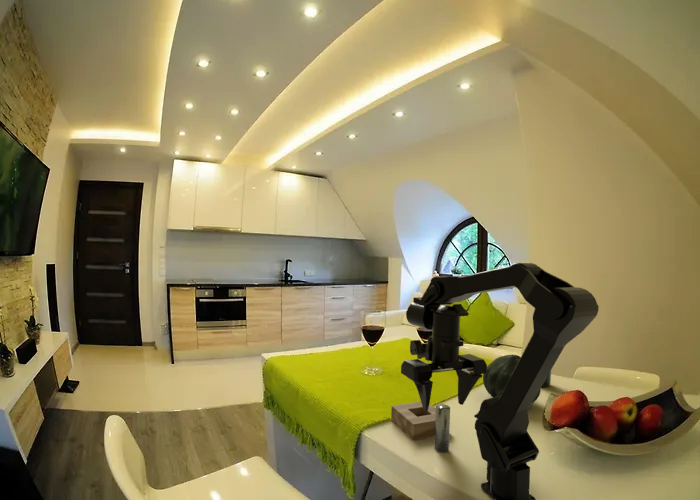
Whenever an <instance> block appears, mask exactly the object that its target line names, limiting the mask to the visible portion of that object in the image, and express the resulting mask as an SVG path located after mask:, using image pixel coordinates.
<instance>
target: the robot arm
mask: <svg viewBox="0 0 700 500" xmlns="http://www.w3.org/2000/svg"><path fill="white" fill-rule="evenodd" d="M514 288H517V290H518V291H519V292H520V294H521V295H522V297H523V299H524V300H525V302H527V304H529V305H530V306H532V308H534V310H533V314H532V325H533V333H532V335H531V337H530V339H529V341H528V343H527V344H526V346H525V349H524V350H523V353H522V354H521V356H520V357H521V358H520V360H519V362H518V364H517V365H516V367H515V369H514V371H513V373H512V375H511V377H510V379H509V381H508V383H507V385H506V386H505V388H504V390H503V392H502V394H501V396H497V397H489V398H486V399H483V400H482V402H481V404H480V407H479V410H478V412H477V413H476V414H474V418H476V420H475V423H474V430H475V433H476V437H477V442H478V446H479V450H480V456H481V458H482V460H483V461H485V462H487V463H486V466H487V467H486V481H485V482H482V483H480V488H481V489H483V491H485V492H486V493H487V494H488V495H489V496H490V497H491V498H493V499H494V500H536V497H535V496H533V495H532V494H531V493H530V480H531V467H530V466H529V465H528V464H527V463H529V462H531V461H532V462H533V461H535V460H537V457H538V455H539V453H540V450H539V448H538V447H537V445H536V444H535V442H534V440H533V438H532V436H531V435H530V433H529V432H528V428H529V425H530V419H529V410H530V408H531V406H532V404H534V403H533V401H534V399H535V397H536V396H537V394H538V392H539V390H540V389H541V388H543V387H542V385H543V383H544V382H545V380H546V378H547V376H548V375H549V373H550V371H551V372H552V369H553V368H554V365H555V364H556V362H557V361H558V359H559V357H560V355H561V354H562V352H563V350H564V348H565V347H566V346H567V344H569V343H570V342H571V341H573V339H575V338H576V337H577V336H578V335H581V333H583V331H585V329H587V328H588V326H589V325H590V324H591V323H592V322H593V321H594V320H595V318H596V317H597V316H598V313H599V306H600V305H599V304H598V302H597V300H596V297H595V296H594V294H592V293H591V292H590V291H589V290H587V289H585V288H583V287H576V286H574V285H572V284H571V283H570V282H568V281H566V280H564V279H562V278H560V277H558V276H556V275H554V274H552V273H549V272H548V271H546V270H544V269H543V268H541V267H540V266H538V264H536V263H533V262H515V263H512V264H511V265H508V266H503V267H498V268H494V269H489V270H486V271H481V272H477V273H472V274H467V275H464V276H463V275H460V276H459V275H450V276H449V275H447V276H446V275H445V276H443V275H439V276H438V275H437V276H436V275H435V276H433V277H432V278H431V279H430V282H429V284H428V286H427V288H426V290H425V291H424V293H423V295H422V297H421V296H417V297H413V299H412V300H413V301H412V302H411V303H410V304H409V306H408V308H407V311H406V312H405V315H406V320H407V322H408V323H409V324H410V325H411V326H415V327H419V328H421V329H426V330H429V331H430V330H431V331H432V332H431V336H430V335H429V336H428V337H427V342H426V343H422V341H421V340H420V339H414V340H410V344H409V353H410V354H411V356H416V359H414V358H413V359H405V360H403V362H402V363H401V364H400V365H401V366H400V374H402V375H403V376H405V377H406V378H408V379H409V380H411V381H413V383H414V385H415V387H416V390H417V393H418V396H419V398H420V399H419V400H420V402H421V403H422V406H423V409H424V410H426V411H427V410H428V407H429V404H431V402H430V401H431V396H432V390H433V384H434V382H433V381H432V380H431V378H432V377H433V374H434V373H442V372H450V371H451V372H452V371H455V372H456V375H457V401H458V404H459V405H461V406H463V405H464V404H465V401H467V398H468V397H469V395H470V393H471V391H472V389H474V387H475V385H476V384H477V383H478V382H479V380H480V379H481V378H482V379H483V374H485V373H487V366H488V365H487V362H486V360H485V359H483V358H482V357H479V356H476V355H474V354H470V353H468V354H460V347H464V341H463V340H460V336H461V335H460V333H461V332H460V331H461V330H460V329H461V326H460V325H461V317H469V315H470V313H469V312H468V311H467V309H465V308H464V306H463V305H462V304H461V302H464V301H466V300H468V299H470V298H472V297H473V296H475V295H478V294H482V293H489V292H495V291H499V290H507V289H508V290H509V289H514ZM454 303H455V304H454ZM423 358H424V359H425V361H427V362H429V363H426V362H424V361H422V359H423ZM430 362H431V363H430Z"/></svg>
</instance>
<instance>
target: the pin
mask: <svg viewBox="0 0 700 500" xmlns="http://www.w3.org/2000/svg"><path fill="white" fill-rule="evenodd" d="M435 408H436V415H435V436H434V443H433V445H434V446H433V448H434V450H435V451H436V452H438V453H443V454H444V453H448V452H449V450H450V429H449V428H450V427H451V425H450V424H451V423H450V422H451V420H450V419H451V407H450V406H449V405H448V404H445V403H437V404H435Z"/></svg>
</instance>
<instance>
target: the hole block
mask: <svg viewBox="0 0 700 500" xmlns="http://www.w3.org/2000/svg"><path fill="white" fill-rule="evenodd" d="M390 415H391V417H390V419H391V418H392V420H391V422H393V423H394V424H395V425H396V426H397V427H398V428H399V429H401V430H402V431H403V433H405V434H406V435H407V436H408V437H409V438H410V439H411V440H412V441H415V440H420V439H425V438H429V437H435V415H436V406H433V405H432V404H431V403H429V407H428V410H427V411H426V410H424V409H423V406H422V403H421V401H414V402H409V403H408V402H407V403H402V404H401V403H400V404H396V405H395V404H394V405H391V413H390ZM449 430H450V428H449Z"/></svg>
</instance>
